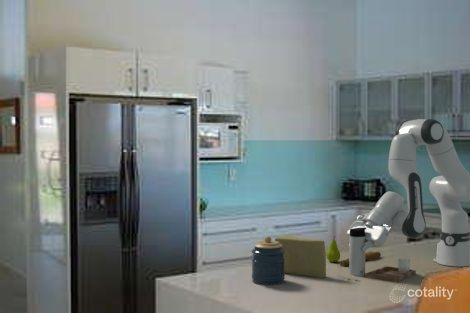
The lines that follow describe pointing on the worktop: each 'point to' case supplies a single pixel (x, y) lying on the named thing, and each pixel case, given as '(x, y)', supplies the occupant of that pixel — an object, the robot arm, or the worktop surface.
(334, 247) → the fruit
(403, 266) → the white egg
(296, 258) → the cheese
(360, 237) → the travel mug
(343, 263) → the tap handle
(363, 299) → the worktop surface
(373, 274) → the tray
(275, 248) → the canister
